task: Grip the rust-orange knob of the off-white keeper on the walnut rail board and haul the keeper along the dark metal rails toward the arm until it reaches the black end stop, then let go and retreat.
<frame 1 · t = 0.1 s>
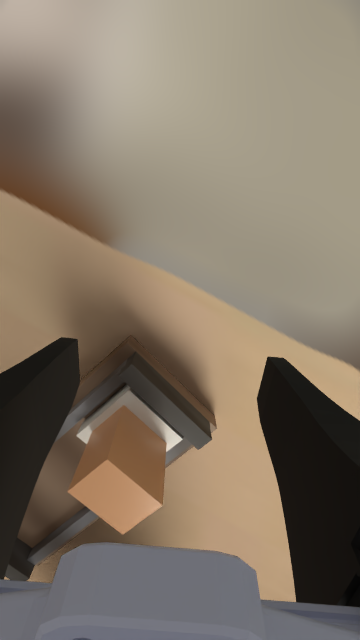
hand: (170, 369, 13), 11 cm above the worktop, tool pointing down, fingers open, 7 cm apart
keeper: (125, 455, 21), point 5 cm above the worktop, slide at 0.0 cm
rail board: (82, 454, 27), on the worktop
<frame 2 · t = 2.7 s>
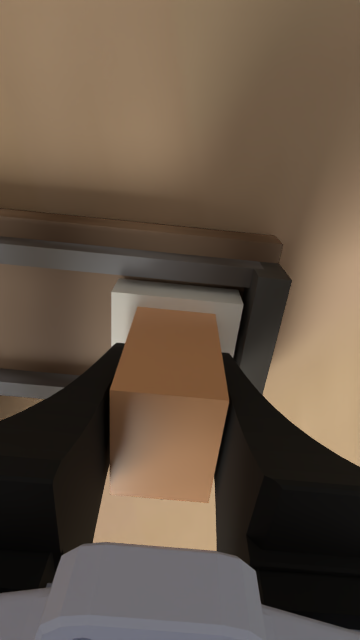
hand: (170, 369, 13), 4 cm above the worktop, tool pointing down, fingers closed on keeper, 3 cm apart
keeper: (170, 380, 12), point 5 cm above the worktop, slide at 0.0 cm, touching gripper
rail board: (54, 306, 17), on the worktop
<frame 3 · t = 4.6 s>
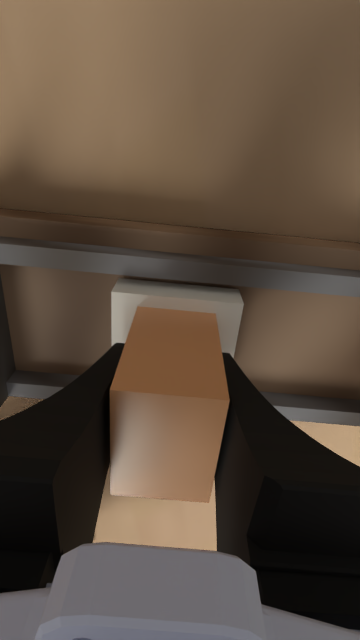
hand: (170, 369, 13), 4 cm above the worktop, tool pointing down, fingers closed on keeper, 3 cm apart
keeper: (170, 380, 12), point 5 cm above the worktop, slide at 7.2 cm, touching gripper
rail board: (199, 320, 17), on the worktop
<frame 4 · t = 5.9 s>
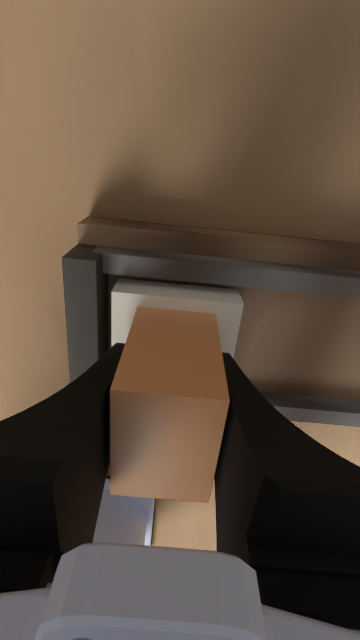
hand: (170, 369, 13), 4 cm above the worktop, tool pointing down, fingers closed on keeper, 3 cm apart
keeper: (170, 380, 12), point 5 cm above the worktop, slide at 11.8 cm, touching gripper
rail board: (290, 328, 17), on the worktop
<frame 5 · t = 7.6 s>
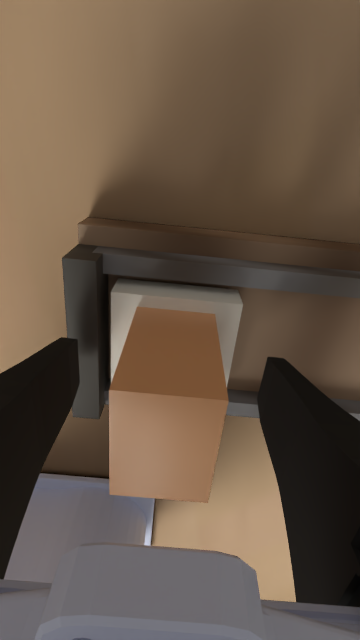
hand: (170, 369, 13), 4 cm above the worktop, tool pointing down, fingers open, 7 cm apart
keeper: (169, 380, 12), point 5 cm above the worktop, slide at 11.8 cm
rail board: (290, 329, 17), on the worktop
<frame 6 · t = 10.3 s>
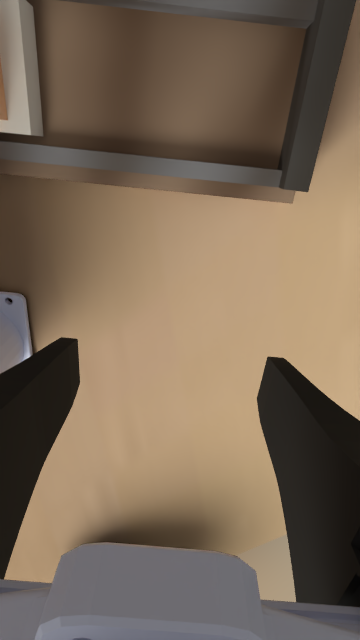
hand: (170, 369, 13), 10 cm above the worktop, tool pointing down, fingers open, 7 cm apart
rail board: (116, 90, 17), on the worktop
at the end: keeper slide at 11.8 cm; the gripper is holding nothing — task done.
